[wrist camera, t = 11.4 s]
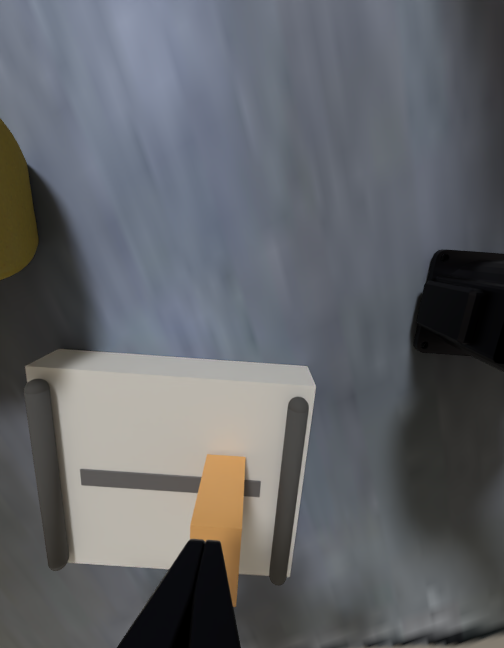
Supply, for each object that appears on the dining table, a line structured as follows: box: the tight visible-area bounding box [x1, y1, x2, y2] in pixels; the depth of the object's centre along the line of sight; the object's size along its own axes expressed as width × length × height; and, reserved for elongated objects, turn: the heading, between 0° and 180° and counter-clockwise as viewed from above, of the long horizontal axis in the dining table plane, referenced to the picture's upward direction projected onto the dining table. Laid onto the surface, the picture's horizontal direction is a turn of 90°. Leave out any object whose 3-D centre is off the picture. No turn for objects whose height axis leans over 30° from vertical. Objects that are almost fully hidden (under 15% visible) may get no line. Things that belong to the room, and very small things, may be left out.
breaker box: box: [25, 349, 316, 577], centre depth 20 cm, size 17×15×3 cm
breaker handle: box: [190, 454, 246, 607], centre depth 16 cm, size 2×5×5 cm, turn 176°
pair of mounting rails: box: [24, 379, 309, 586], centre depth 18 cm, size 16×14×1 cm
